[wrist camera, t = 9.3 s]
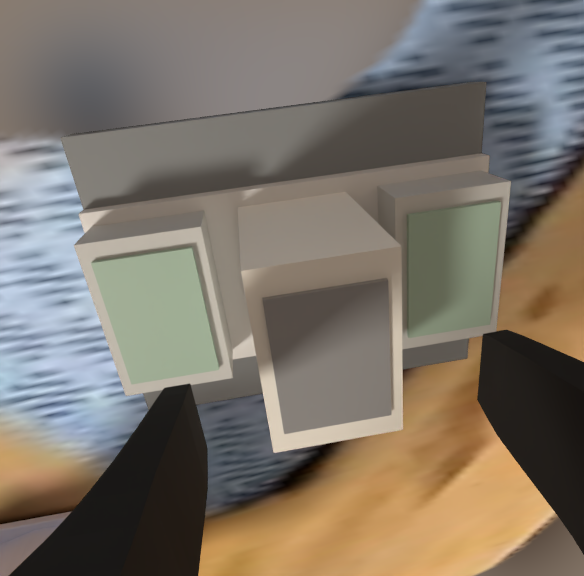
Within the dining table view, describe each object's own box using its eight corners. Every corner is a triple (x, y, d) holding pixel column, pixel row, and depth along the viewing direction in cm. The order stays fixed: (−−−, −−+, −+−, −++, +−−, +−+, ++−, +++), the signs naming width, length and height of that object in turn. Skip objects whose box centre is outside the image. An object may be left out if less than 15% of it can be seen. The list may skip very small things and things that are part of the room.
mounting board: (153, 398, 21) (137, 459, 18) (69, 134, 16) (26, 149, 13) (457, 346, 22) (499, 395, 19) (472, 81, 17) (534, 82, 13)
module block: (261, 346, 19) (274, 457, 13) (237, 207, 16) (241, 273, 11) (354, 330, 19) (405, 433, 14) (345, 191, 16) (403, 247, 11)
